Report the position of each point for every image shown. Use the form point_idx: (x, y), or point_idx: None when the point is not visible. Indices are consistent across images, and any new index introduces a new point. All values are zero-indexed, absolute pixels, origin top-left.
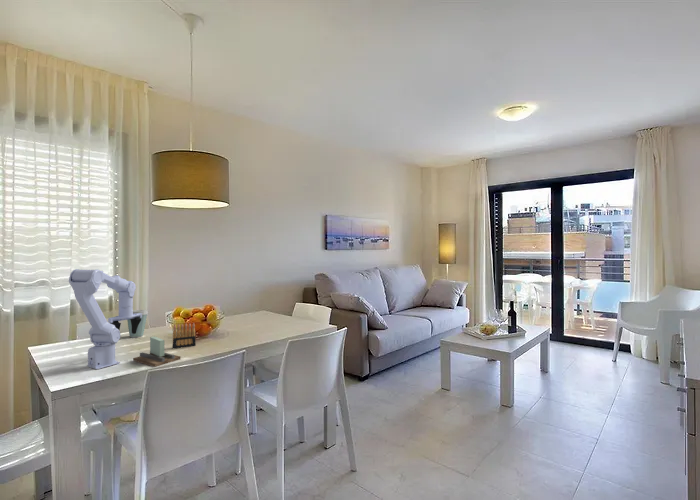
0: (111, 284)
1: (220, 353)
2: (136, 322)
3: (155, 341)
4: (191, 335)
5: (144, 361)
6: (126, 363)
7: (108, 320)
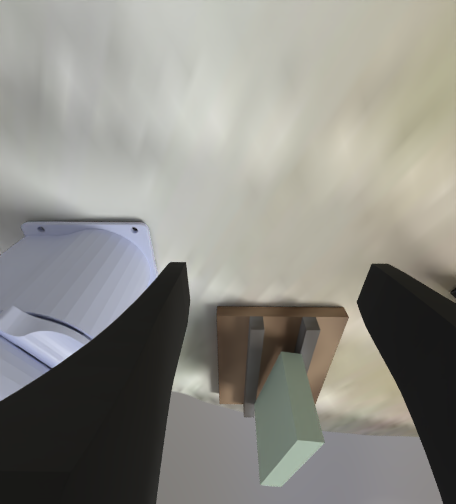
0: None
1: (404, 426)
2: (438, 487)
3: (272, 453)
4: None
5: (218, 367)
6: None
7: None
